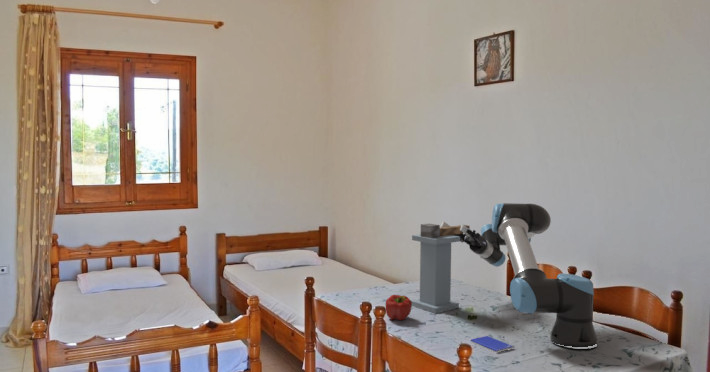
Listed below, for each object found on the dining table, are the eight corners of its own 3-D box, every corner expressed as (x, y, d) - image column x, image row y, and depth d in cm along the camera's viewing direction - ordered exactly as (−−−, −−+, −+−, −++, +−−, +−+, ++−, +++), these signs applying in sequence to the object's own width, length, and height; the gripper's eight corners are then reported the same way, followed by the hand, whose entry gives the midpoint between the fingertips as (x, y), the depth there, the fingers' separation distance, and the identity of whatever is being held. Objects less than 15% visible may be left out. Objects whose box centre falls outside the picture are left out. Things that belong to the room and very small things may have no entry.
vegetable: (417, 321, 220) (417, 296, 220) (392, 324, 217) (393, 298, 216) (404, 314, 231) (404, 289, 230) (380, 316, 227) (381, 291, 226)
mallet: (430, 238, 233) (431, 226, 233) (420, 236, 238) (420, 224, 238) (472, 232, 248) (472, 221, 248) (461, 231, 253) (461, 220, 253)
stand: (434, 313, 232) (436, 239, 230) (411, 305, 243) (412, 235, 241) (458, 307, 240) (460, 236, 238) (434, 300, 251) (435, 232, 249)
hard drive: (514, 346, 191) (488, 335, 202) (496, 350, 187) (470, 339, 198) (514, 350, 191) (487, 339, 202) (496, 354, 187) (470, 343, 198)
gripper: (498, 258, 247) (469, 237, 235) (458, 250, 265) (429, 230, 253) (504, 242, 249) (475, 220, 237) (464, 236, 267) (435, 215, 255)
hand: (451, 225), depth 245 cm, fingers open, 10 cm apart
